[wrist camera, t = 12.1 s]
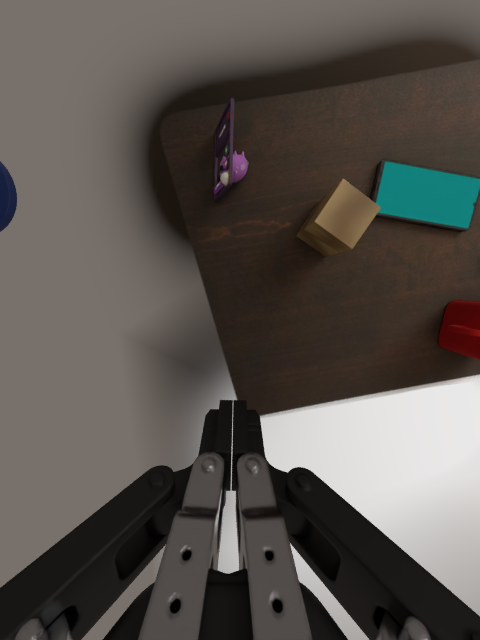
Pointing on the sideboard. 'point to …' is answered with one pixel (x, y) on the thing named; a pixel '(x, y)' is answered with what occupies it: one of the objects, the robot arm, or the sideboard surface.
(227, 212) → the sideboard surface
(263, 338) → the sideboard surface
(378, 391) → the sideboard surface
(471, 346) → the mug
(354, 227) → the beech block
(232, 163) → the purple figure in frame
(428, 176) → the smartphone
